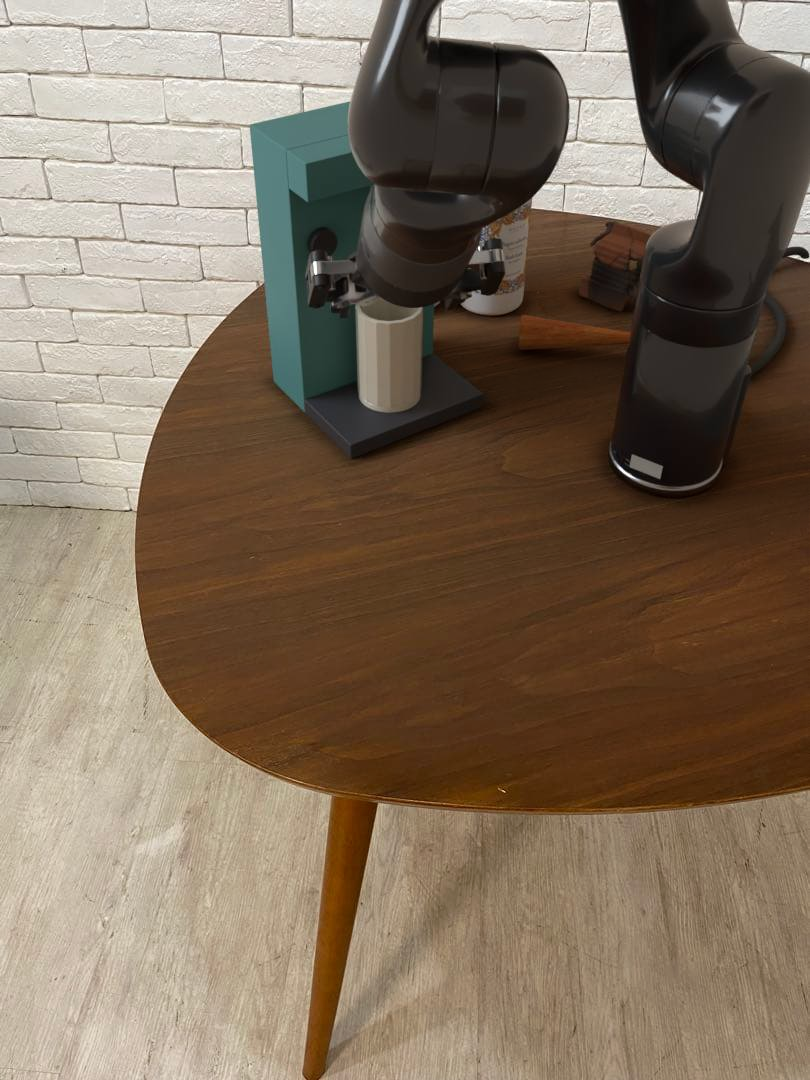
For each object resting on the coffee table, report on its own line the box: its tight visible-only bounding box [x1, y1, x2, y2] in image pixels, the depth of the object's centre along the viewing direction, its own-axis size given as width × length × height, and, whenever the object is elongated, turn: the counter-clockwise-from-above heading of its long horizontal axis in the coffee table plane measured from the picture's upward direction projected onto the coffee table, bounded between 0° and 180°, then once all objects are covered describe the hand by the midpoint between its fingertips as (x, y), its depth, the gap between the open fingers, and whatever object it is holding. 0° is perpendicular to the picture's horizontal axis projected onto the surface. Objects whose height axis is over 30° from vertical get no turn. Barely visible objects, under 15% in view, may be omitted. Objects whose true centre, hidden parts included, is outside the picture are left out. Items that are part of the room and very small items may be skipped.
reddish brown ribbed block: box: [578, 221, 653, 313], centre depth 109 cm, size 12×10×8 cm
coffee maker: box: [249, 100, 484, 459], centre depth 89 cm, size 14×14×24 cm
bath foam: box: [460, 197, 533, 316], centre depth 103 cm, size 7×7×20 cm
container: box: [355, 299, 423, 413], centre depth 91 cm, size 6×6×9 cm
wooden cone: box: [518, 314, 631, 351], centre depth 100 cm, size 6×6×20 cm
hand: (395, 301), depth 84 cm, fingers open, 8 cm apart
